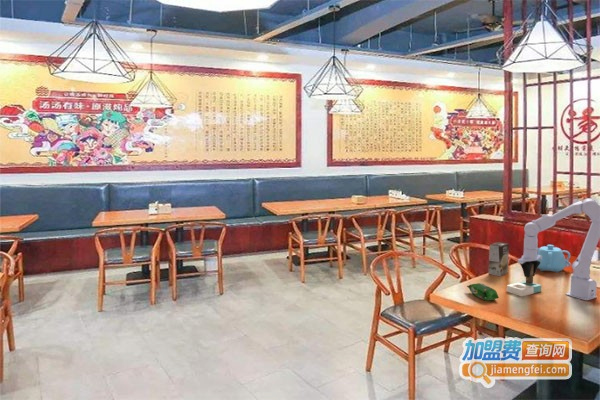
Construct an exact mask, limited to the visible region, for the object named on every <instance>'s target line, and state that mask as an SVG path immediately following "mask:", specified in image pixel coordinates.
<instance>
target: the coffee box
mask: <svg viewBox="0 0 600 400" xmlns="http://www.w3.org/2000/svg"><path fill="white" fill-rule="evenodd" d="M509 249H510V243H506V242H500V241H498V242H493V243H490V244H489V251H488V252H489V253H488V254H489V256H488V257H489V258H488V274H489V275H491V276H492V275H493V276H498V277H502V276H504V275H506V274H508V273H509V258H510V257H509V255H510V250H509Z"/></svg>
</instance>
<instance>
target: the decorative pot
mask: <svg viewBox="0 0 600 400" xmlns="http://www.w3.org/2000/svg"><path fill="white" fill-rule="evenodd" d="M564 253H565V254H567V258H566V257H565V254H564ZM537 255H541V256H542V260H537V261H540V265H539V266H538V268H537V270H540V271H541V272H546V271H548V272H549V271H551V272H554V273H559V272H562V271H563V270H564V269H565V268H567V267H568V268H569V267H572V264H571V262H570V261H569V260H570V258H571V253H570V252H569V251H568V250H562V249H561V248H559V247H557V246H555V245H553V244H547V245H546V246H545V245H544V246H541V247H537Z"/></svg>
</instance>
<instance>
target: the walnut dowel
mask: <svg viewBox="0 0 600 400" xmlns="http://www.w3.org/2000/svg"><path fill="white" fill-rule="evenodd" d="M530 264H531V263H530ZM533 269H534V264H533V265H532V267H531V271H530V277H529V278H528V277H525V281H526V283H528V284H533V283H534V276H533Z"/></svg>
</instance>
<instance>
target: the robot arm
mask: <svg viewBox="0 0 600 400" xmlns="http://www.w3.org/2000/svg"><path fill="white" fill-rule="evenodd" d="M583 213H584V214H585V215H587V216H588V218H589V219H590V220H591V223H590V227H589V229H588V231H587V234H586V237H585V239H584V242H583V244H582V247H581V250H580V252H579V254H578V256H577V258H576V259H575V260H574V261H573V262H572V264H571V269H572V271H573V272H572V273H571V274H570V277H571V278H570V291H569V292H566V293H565V295H567V296H569V297H573V298H575V299H580V300H582V301H590V300H593V299H597V297H598V296H597V286H598V285H597V281H596V280H595V279H592V278H591V276H590V275H591V268H590V267H591V265H592V260H593V259H592V258H593V255H594V254H595V252H596V248H597V246H598V244H599V241H600V204H599V203H598V202H597V201H596V200H595V199H594V198H590V197H589V198H584V199H583V200H579V201H576V202H574V203H572V204H570V205H568V206H567V207H565V208H563V209H561V210H559V211H557V212H556V213H554V214H549V213H547V214H542V215H541V217H539V218H537V219H533V220H531V221H529V222H527V223H526V224H525V225H524V229H523V231H524V235H523V236H524V238H523V255H521V257H520V258H518V259H517V264H519V265H520V266H521V268H522V269H521V270H522V272H523V275H524V277H525V278H526V277H528V278H529V277H530V271H531V267H532V265H533V264H534V269H533V277H535V275H536V272H537V270H538V266H539V265H540V261H537V260H542V256H541V255H537V252H538V250H537V248H539V247H538V245H539V244H538V243H539V239H538V234H539V233H540V232H543V231H545V230H548V229H550V228H552V227H554V226H556V222H558V221H560V220H562V219H564V218H567V217H569V216H572V215H575V214H576V215H582V214H583ZM530 263H531V264H530Z"/></svg>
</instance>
